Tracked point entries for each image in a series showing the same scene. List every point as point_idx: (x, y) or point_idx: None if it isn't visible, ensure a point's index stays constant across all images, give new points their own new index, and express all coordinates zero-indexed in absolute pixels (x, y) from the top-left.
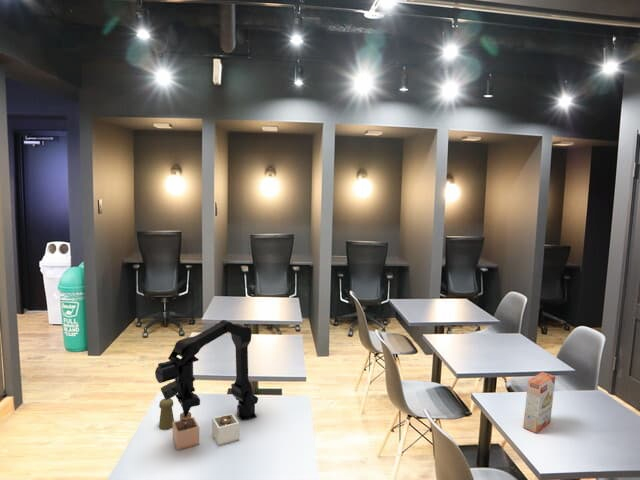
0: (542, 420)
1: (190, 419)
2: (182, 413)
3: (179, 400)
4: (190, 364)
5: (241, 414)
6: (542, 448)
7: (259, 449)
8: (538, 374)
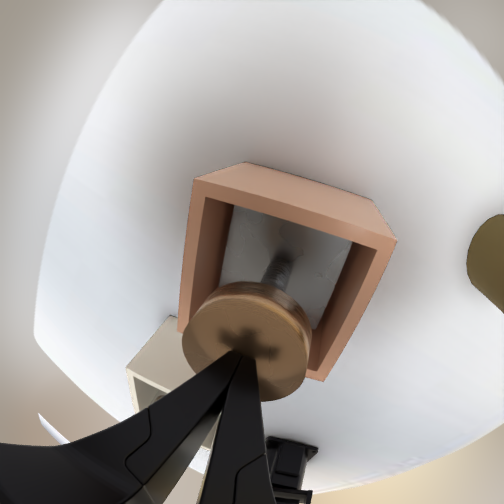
0: None
1: (323, 356)
2: (290, 359)
3: (1, 497)
4: None
5: (276, 452)
6: (60, 436)
7: (108, 359)
8: None
